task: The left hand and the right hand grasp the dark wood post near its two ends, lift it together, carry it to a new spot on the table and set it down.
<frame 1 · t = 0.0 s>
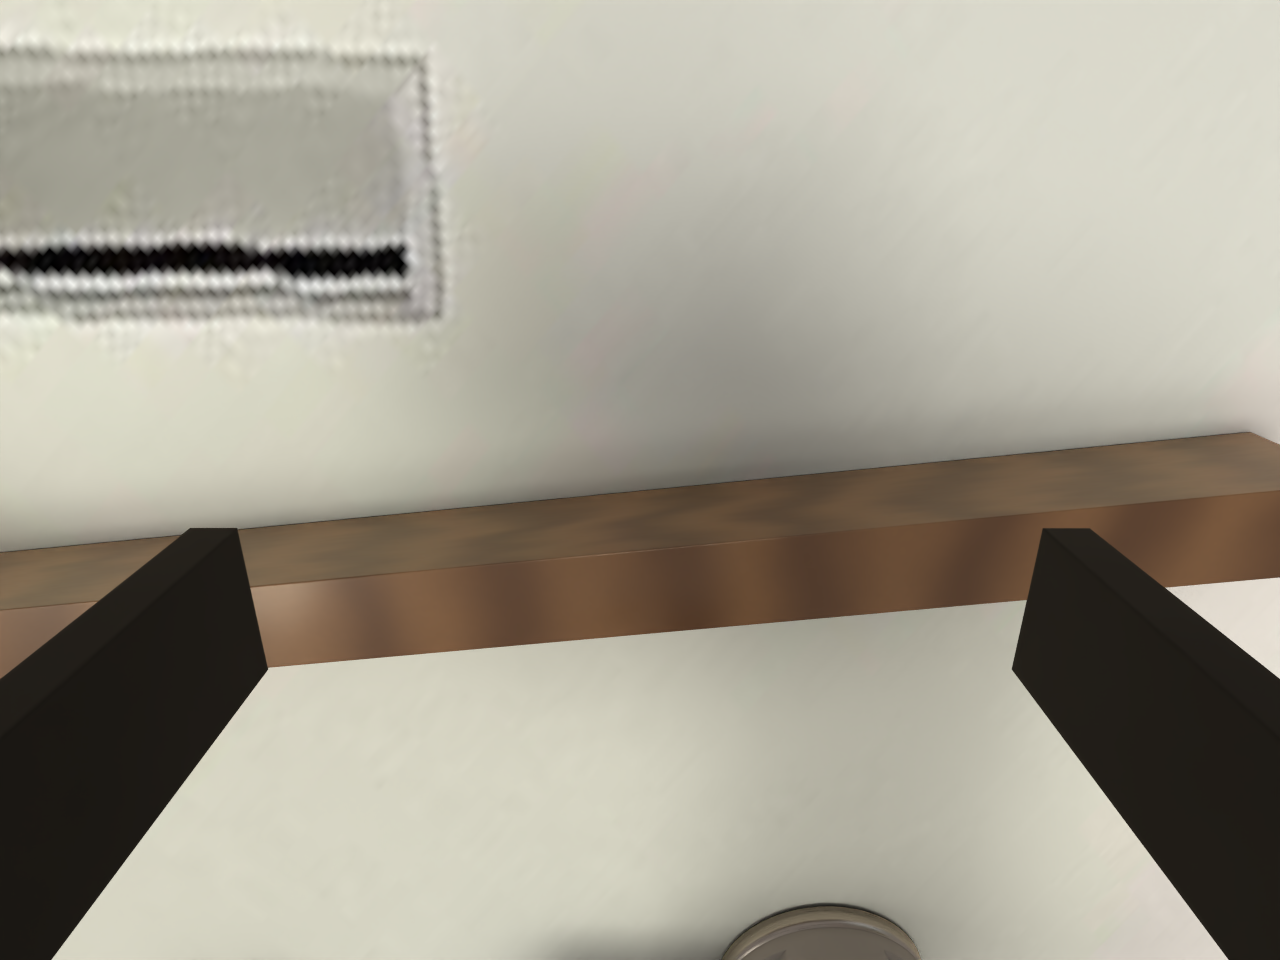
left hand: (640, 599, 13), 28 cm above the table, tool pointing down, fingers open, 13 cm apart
post: (526, 539, 43), on the table
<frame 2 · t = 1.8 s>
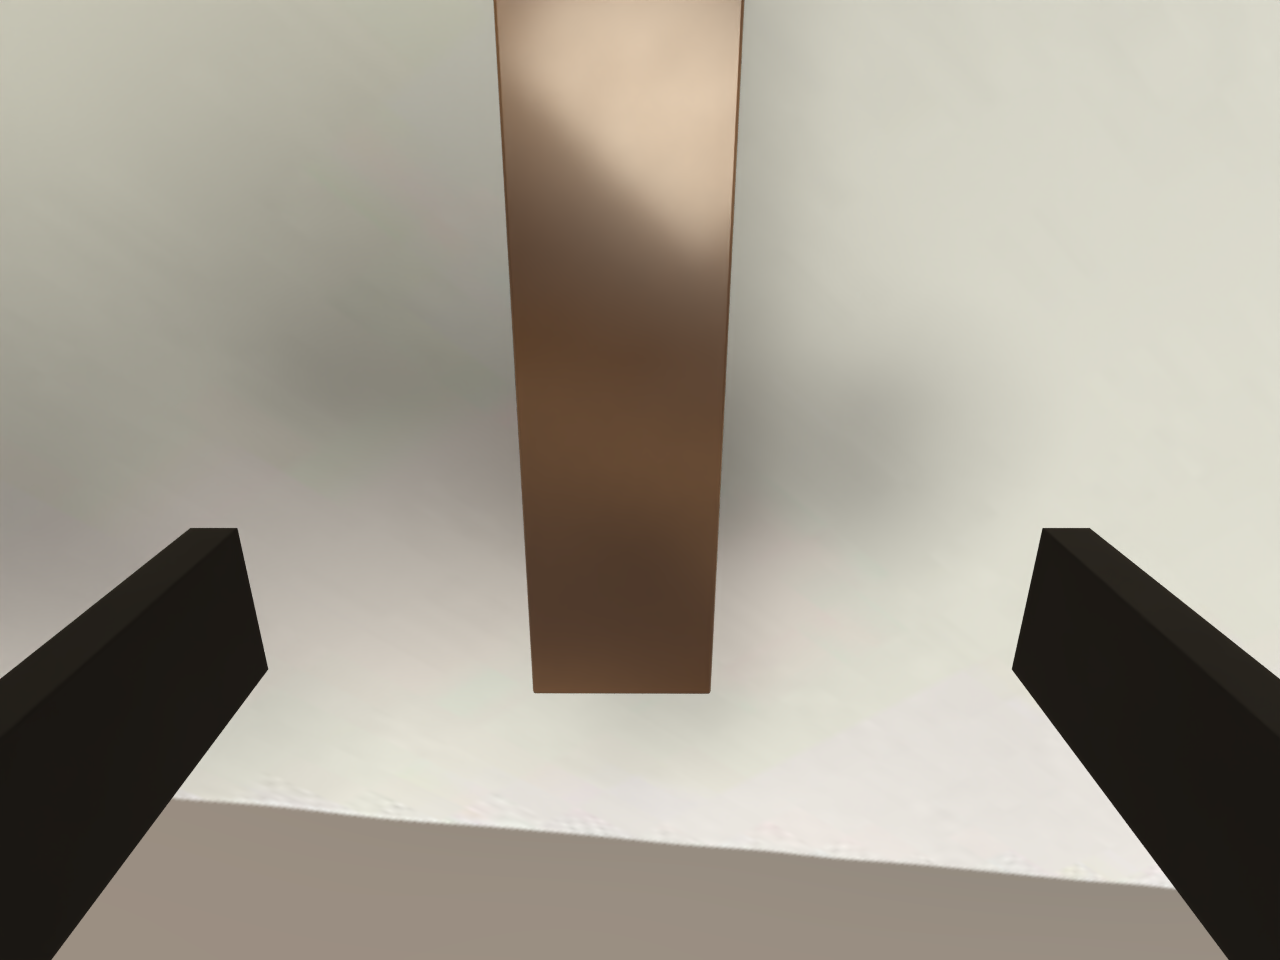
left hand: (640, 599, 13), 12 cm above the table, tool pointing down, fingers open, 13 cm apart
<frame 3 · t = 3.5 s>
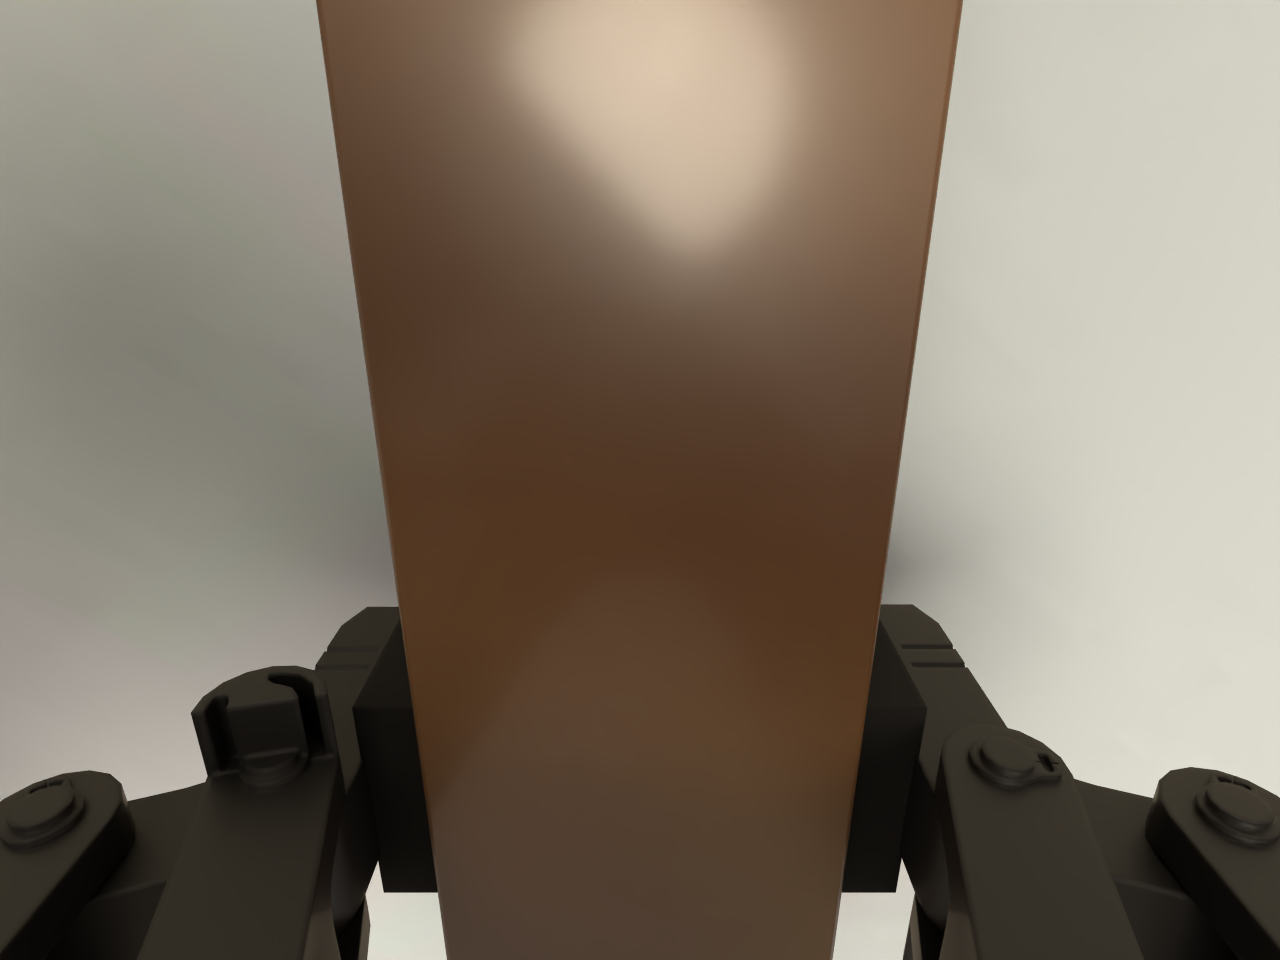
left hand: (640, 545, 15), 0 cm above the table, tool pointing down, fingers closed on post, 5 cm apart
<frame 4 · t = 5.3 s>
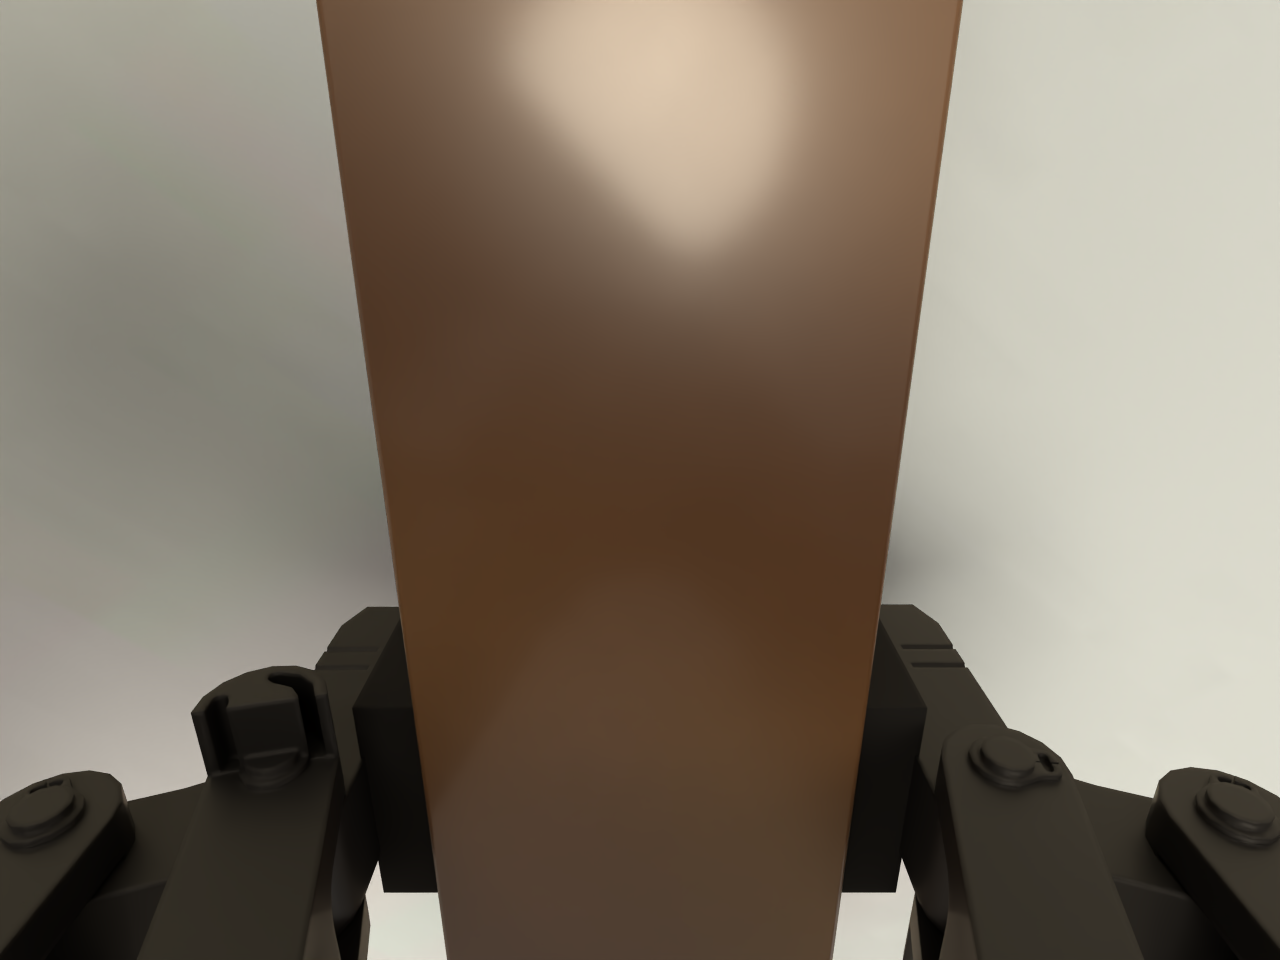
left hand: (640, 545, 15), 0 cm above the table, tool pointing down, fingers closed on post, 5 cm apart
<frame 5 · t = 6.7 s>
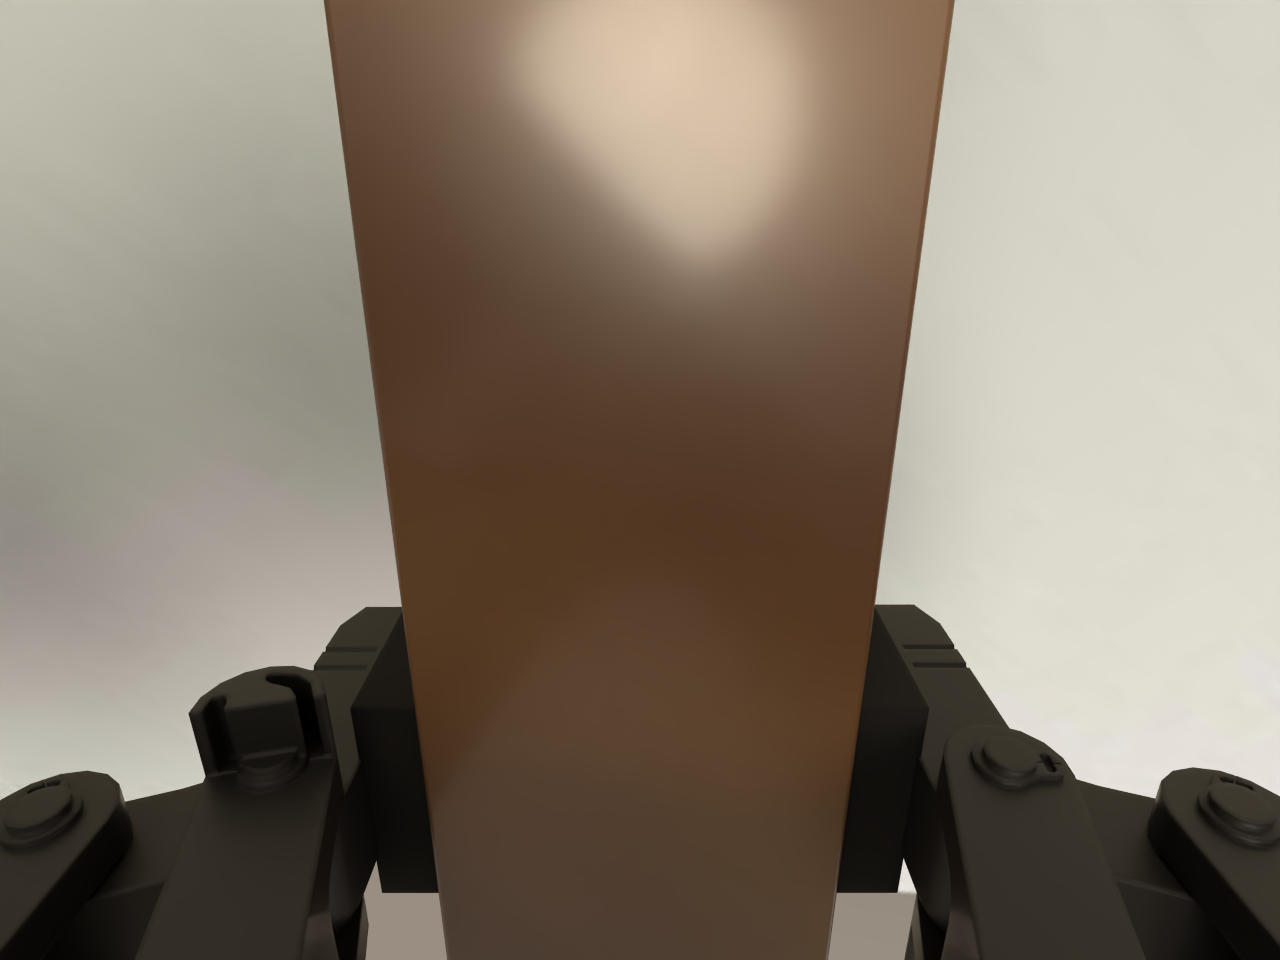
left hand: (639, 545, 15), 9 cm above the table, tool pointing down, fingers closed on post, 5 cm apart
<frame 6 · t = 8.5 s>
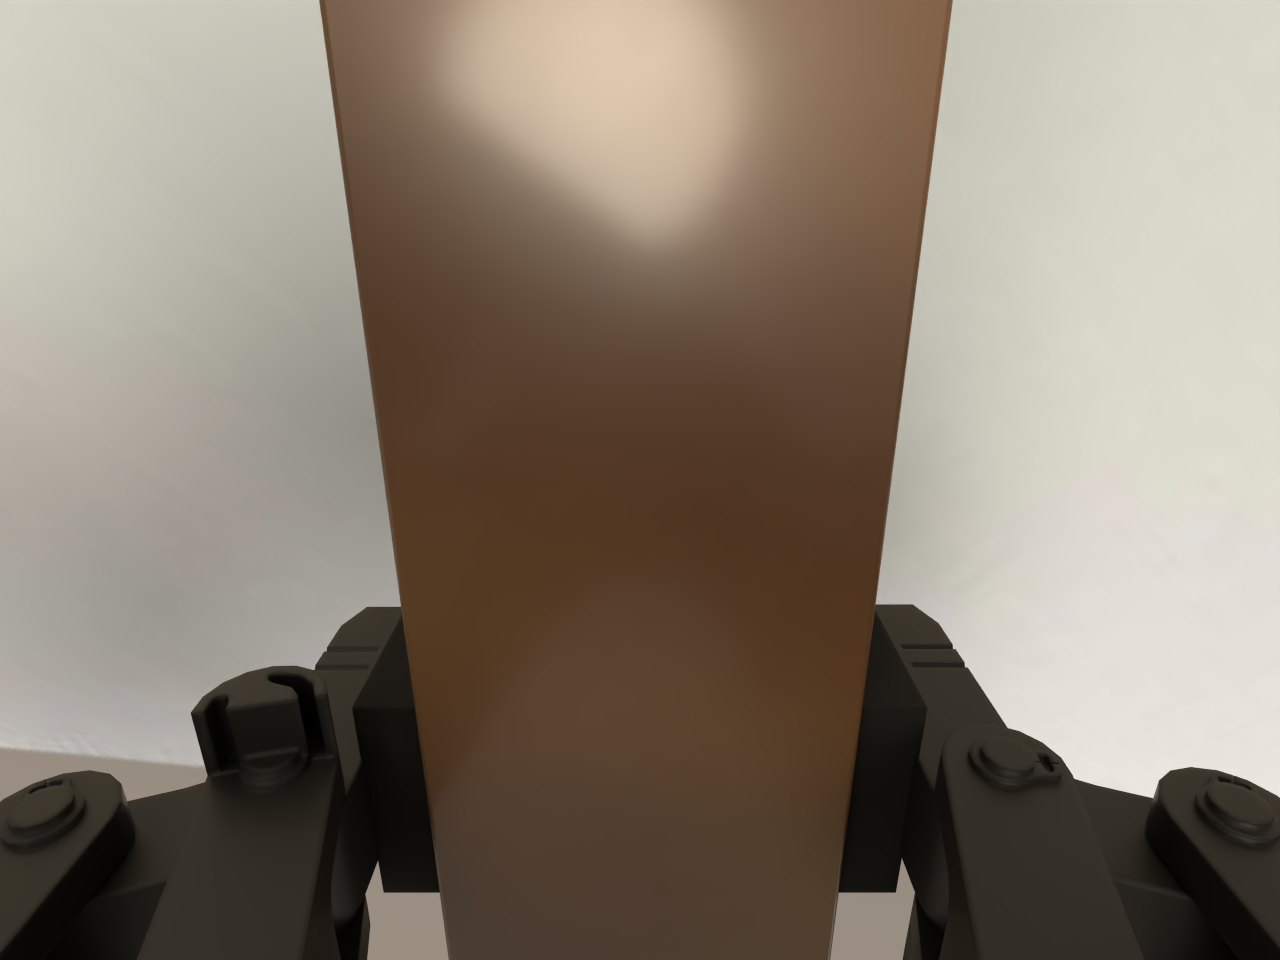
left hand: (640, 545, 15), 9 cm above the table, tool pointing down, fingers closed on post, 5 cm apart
when the left hand's fingers open (2 cm above the table, at t = 9.8 s): post moves 1 cm, on the table.
when the right hand's fingers open (4 cm above the table, at t = 10.0 s): post stays where it is, on the table.
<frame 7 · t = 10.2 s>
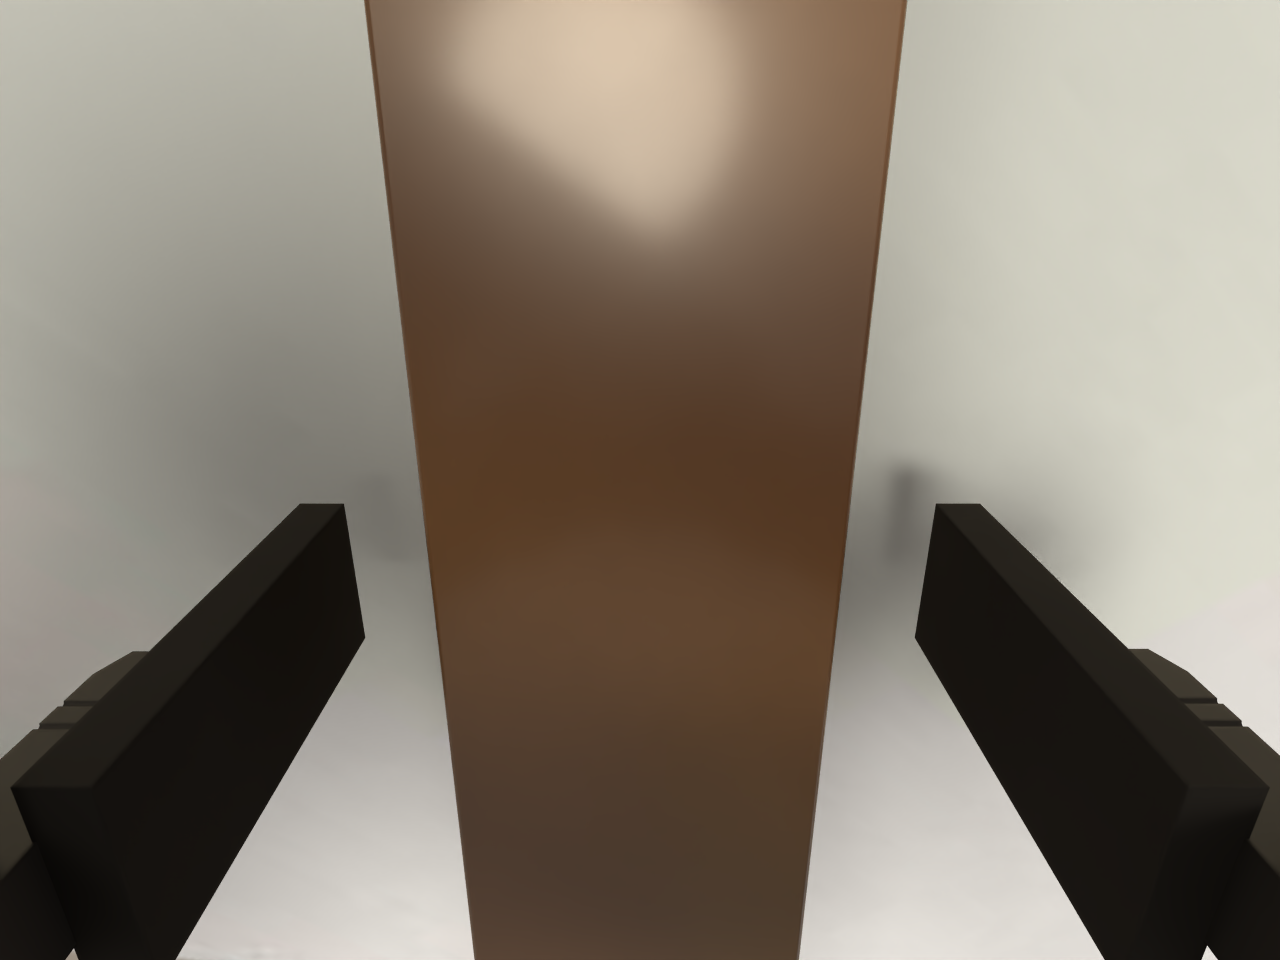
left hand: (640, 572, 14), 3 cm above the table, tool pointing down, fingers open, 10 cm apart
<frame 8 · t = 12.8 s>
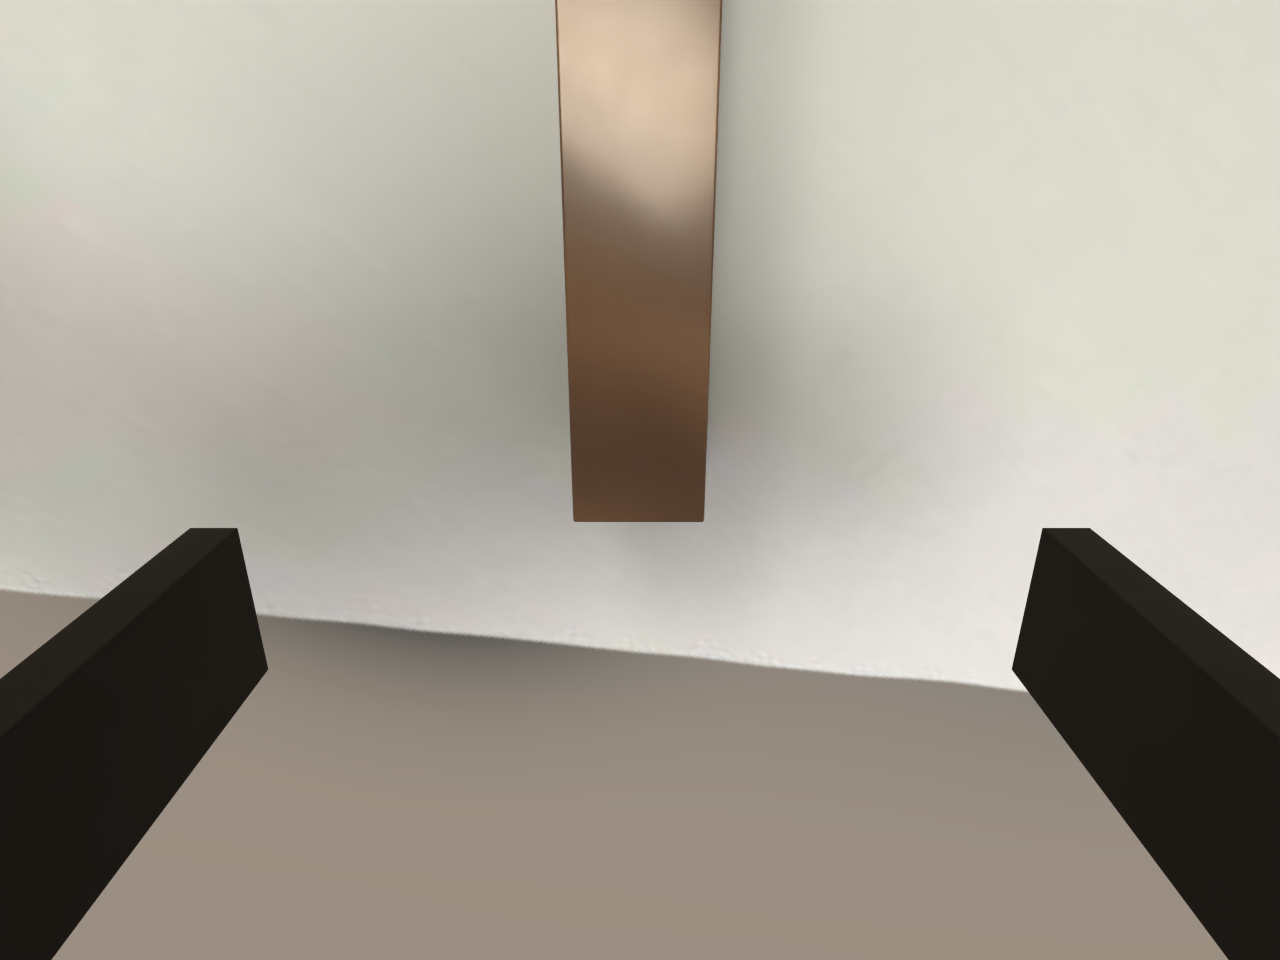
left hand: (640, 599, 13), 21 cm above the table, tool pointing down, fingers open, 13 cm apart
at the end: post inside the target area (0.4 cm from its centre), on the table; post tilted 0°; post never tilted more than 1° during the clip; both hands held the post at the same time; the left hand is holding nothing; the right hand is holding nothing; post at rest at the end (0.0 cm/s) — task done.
